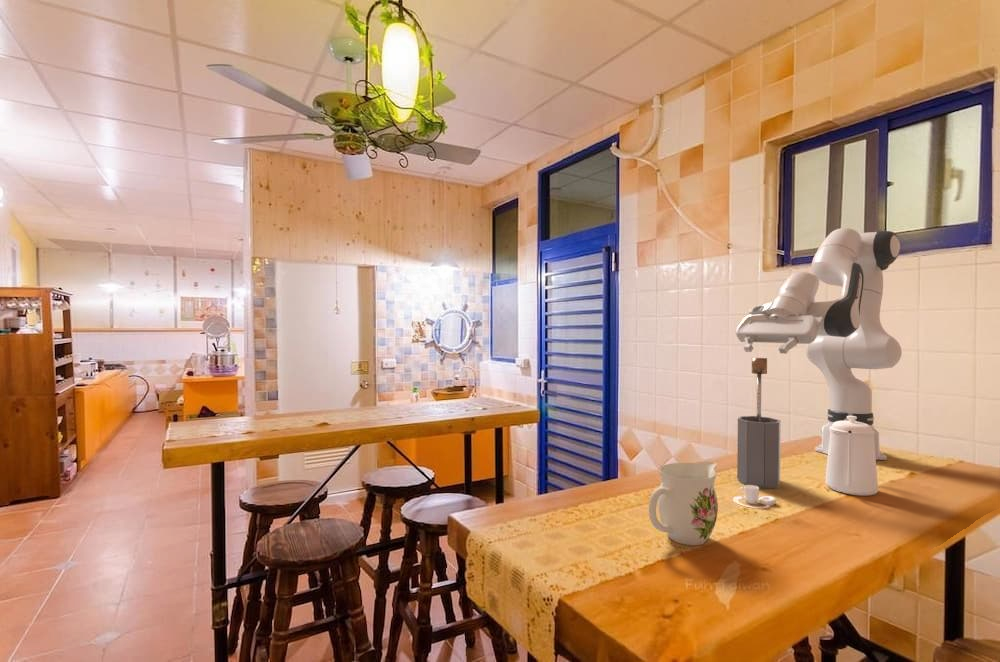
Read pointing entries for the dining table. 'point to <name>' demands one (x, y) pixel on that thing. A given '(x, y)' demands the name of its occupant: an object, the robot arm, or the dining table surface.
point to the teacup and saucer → (754, 497)
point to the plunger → (759, 380)
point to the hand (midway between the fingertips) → (764, 351)
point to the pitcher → (686, 502)
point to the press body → (758, 452)
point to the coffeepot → (852, 458)
